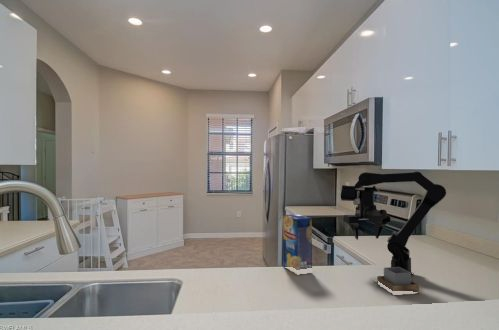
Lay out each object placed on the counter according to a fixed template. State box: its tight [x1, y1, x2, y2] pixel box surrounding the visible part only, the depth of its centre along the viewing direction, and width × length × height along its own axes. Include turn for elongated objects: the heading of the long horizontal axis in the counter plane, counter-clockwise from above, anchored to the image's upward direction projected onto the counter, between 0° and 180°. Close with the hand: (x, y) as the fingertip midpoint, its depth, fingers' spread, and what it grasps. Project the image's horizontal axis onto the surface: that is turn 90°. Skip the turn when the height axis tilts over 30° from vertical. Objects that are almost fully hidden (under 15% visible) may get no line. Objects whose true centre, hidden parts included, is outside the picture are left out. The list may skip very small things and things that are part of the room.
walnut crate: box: [376, 275, 420, 292], centre depth 100 cm, size 9×9×3 cm
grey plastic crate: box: [383, 266, 412, 286], centre depth 100 cm, size 6×6×6 cm
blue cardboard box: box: [282, 213, 313, 270], centre depth 119 cm, size 7×11×22 cm, turn 23°
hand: (367, 238), depth 122 cm, fingers open, 9 cm apart
